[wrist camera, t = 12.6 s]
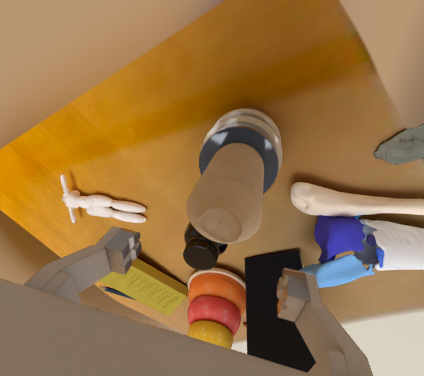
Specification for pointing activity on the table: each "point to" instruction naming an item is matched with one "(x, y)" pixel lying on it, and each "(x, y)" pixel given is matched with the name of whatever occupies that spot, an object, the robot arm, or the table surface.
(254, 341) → the decorative box
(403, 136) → the rock
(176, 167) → the table surface
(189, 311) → the stacking toy
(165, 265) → the table surface
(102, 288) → the pencil
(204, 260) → the supplement bottle
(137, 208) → the decorative figure
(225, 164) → the candle
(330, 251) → the blue white plush toy
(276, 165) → the cup stack
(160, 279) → the flat olive board
